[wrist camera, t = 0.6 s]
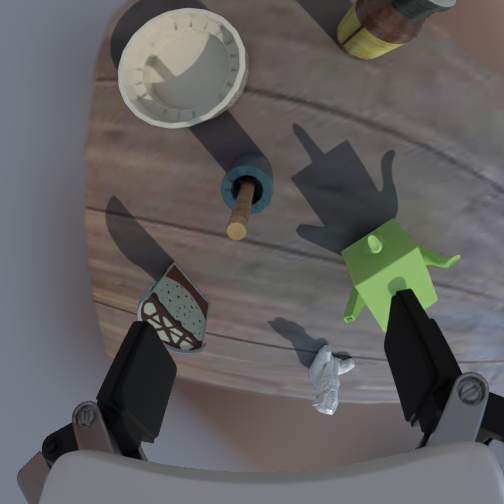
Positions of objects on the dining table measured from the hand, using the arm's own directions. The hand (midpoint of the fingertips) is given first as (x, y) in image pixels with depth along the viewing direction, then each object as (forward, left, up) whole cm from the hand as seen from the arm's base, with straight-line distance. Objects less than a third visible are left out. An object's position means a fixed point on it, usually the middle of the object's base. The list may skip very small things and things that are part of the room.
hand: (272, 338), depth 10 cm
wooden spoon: (+1, -2, -27) cm, 27 cm away
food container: (+23, -8, -28) cm, 37 cm away
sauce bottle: (-21, +5, -28) cm, 35 cm away
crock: (+1, -2, -28) cm, 28 cm away
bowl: (-10, -13, -28) cm, 32 cm away
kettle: (+6, +20, -28) cm, 35 cm away
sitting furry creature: (+32, +23, -28) cm, 49 cm away
